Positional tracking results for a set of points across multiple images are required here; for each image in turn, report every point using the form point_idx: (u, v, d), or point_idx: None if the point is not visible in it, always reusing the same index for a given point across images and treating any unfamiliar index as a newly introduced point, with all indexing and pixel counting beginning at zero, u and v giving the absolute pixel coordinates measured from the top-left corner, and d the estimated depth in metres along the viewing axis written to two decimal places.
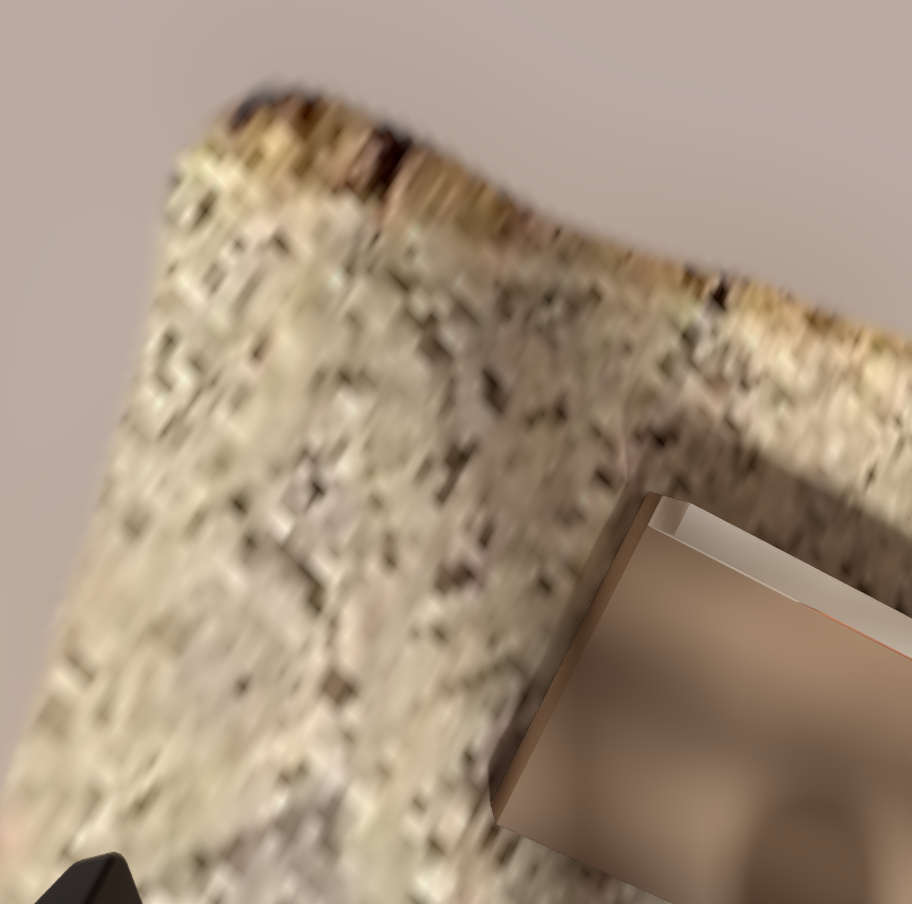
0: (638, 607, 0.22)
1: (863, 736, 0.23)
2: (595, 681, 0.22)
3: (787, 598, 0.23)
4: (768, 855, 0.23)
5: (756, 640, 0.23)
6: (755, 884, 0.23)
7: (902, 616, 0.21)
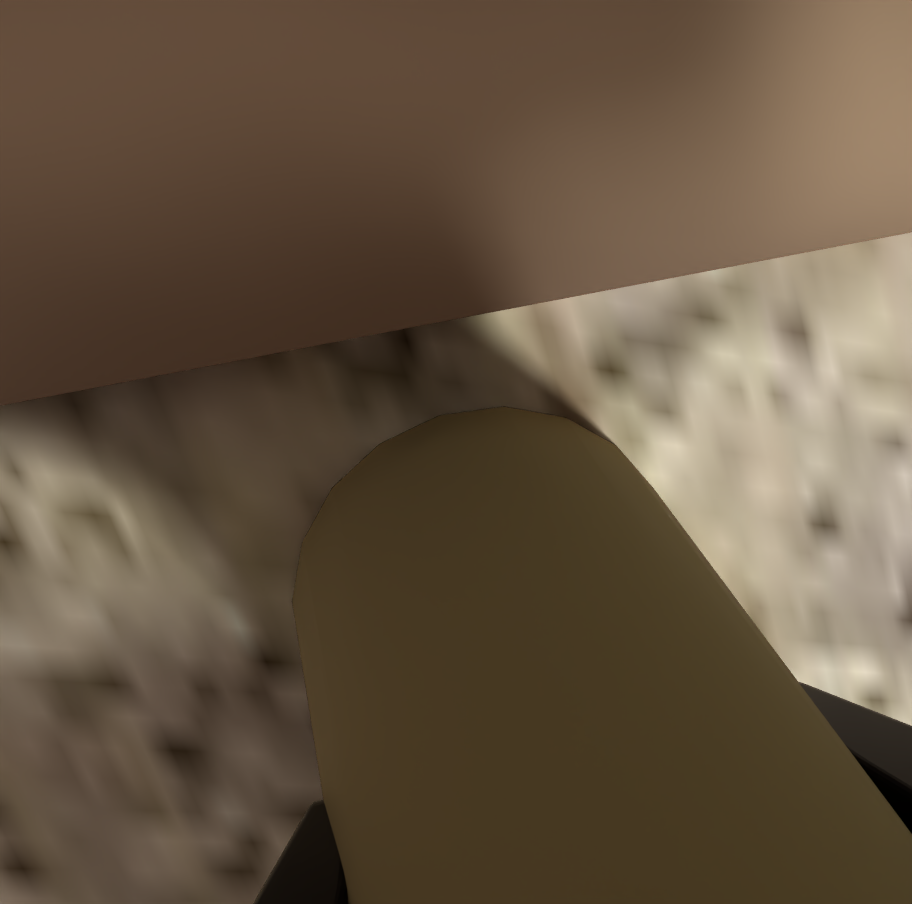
0: None
1: None
2: None
3: None
4: None
5: None
6: None
7: None
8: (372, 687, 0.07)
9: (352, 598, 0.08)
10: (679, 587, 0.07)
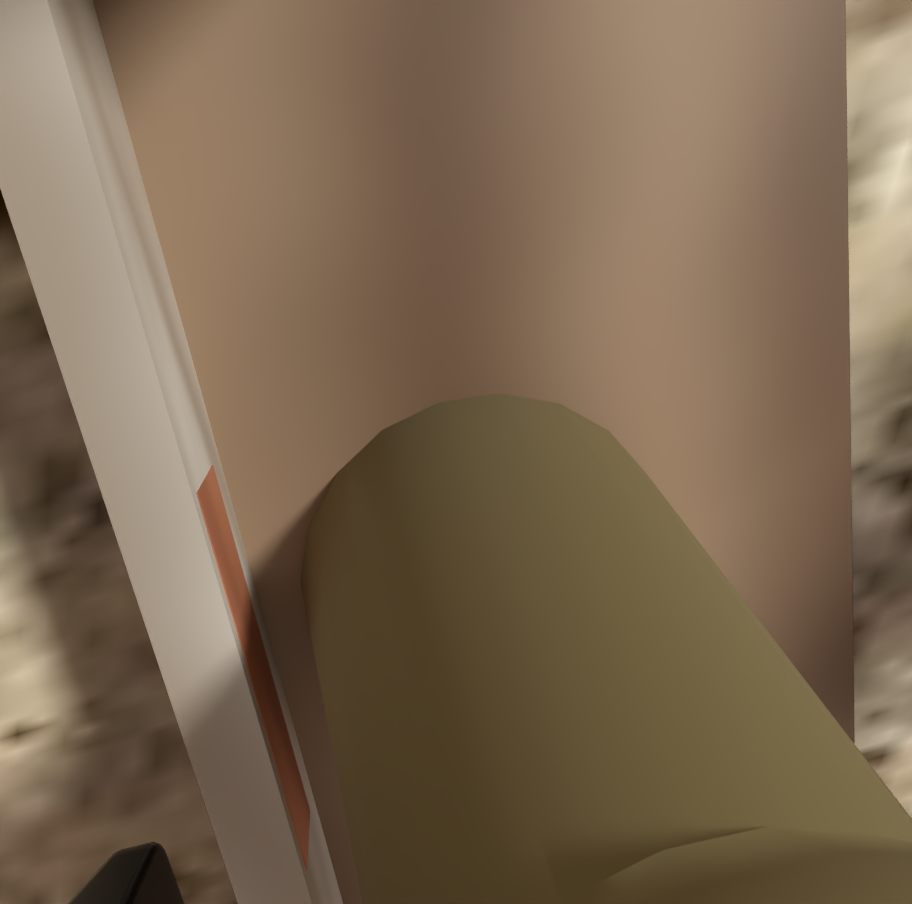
0: None
1: None
2: None
3: (312, 782, 0.13)
4: (707, 515, 0.12)
5: None
6: (763, 500, 0.13)
7: (202, 780, 0.10)
8: (378, 647, 0.07)
9: (357, 571, 0.09)
10: (662, 552, 0.07)
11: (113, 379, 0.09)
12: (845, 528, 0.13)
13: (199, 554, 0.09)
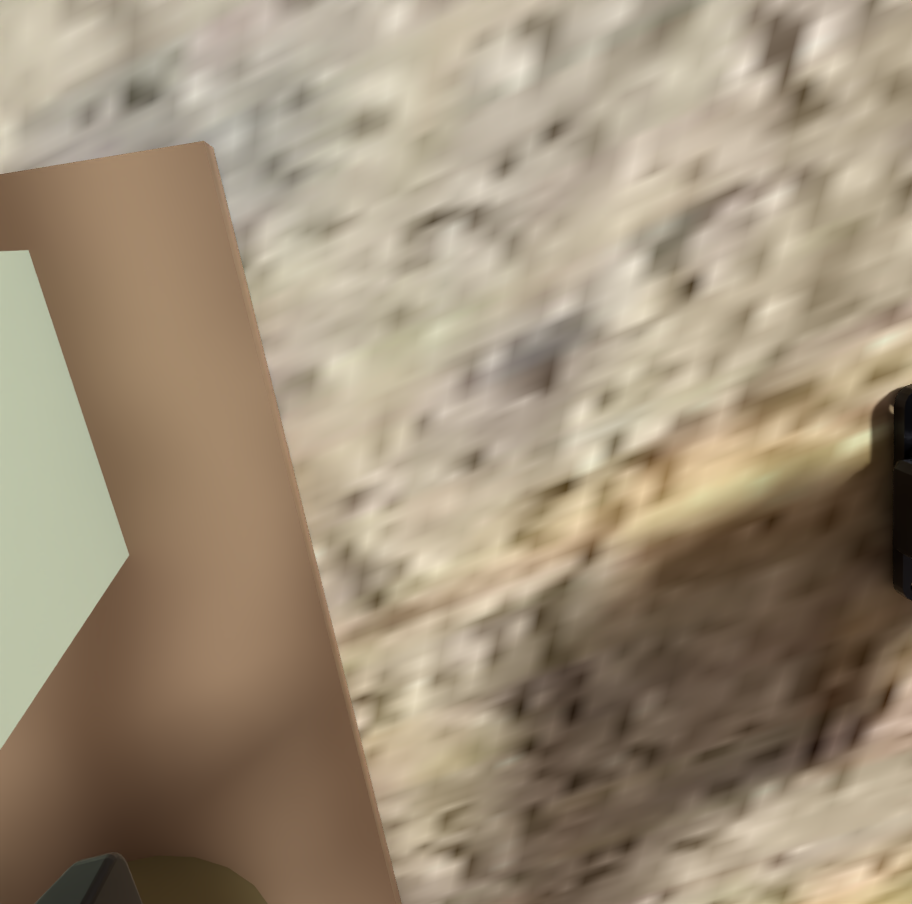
0: None
1: None
2: None
3: None
4: (299, 903, 0.21)
5: None
6: (334, 892, 0.21)
7: None
8: None
9: None
10: None
11: None
12: (390, 903, 0.21)
13: None
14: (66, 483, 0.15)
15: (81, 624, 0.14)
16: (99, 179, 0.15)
